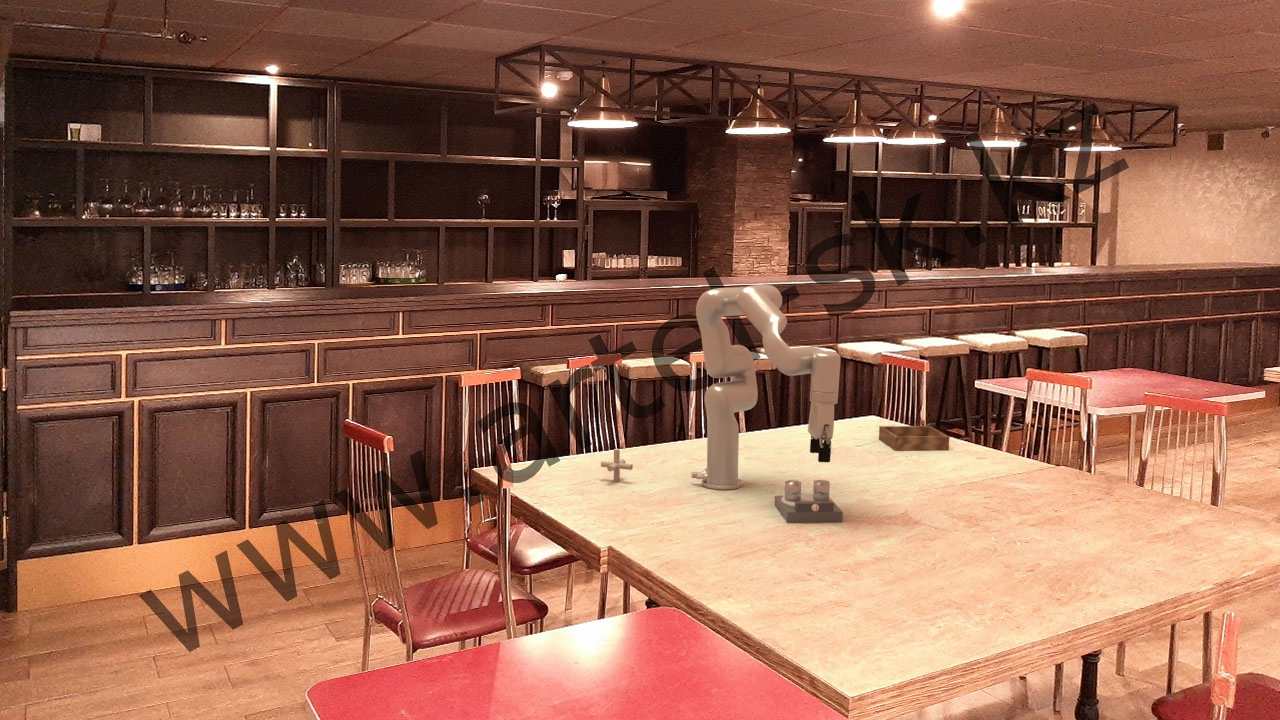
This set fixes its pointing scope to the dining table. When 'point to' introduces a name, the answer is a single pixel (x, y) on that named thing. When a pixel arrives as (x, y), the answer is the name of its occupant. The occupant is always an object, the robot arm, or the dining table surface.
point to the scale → (808, 510)
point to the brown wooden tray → (913, 438)
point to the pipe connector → (616, 465)
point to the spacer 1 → (792, 490)
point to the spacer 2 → (821, 490)
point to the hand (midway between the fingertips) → (819, 457)
